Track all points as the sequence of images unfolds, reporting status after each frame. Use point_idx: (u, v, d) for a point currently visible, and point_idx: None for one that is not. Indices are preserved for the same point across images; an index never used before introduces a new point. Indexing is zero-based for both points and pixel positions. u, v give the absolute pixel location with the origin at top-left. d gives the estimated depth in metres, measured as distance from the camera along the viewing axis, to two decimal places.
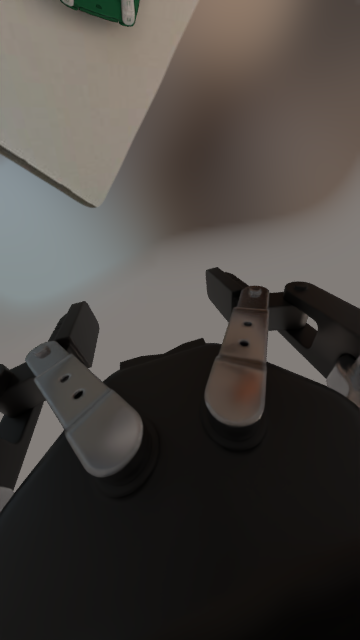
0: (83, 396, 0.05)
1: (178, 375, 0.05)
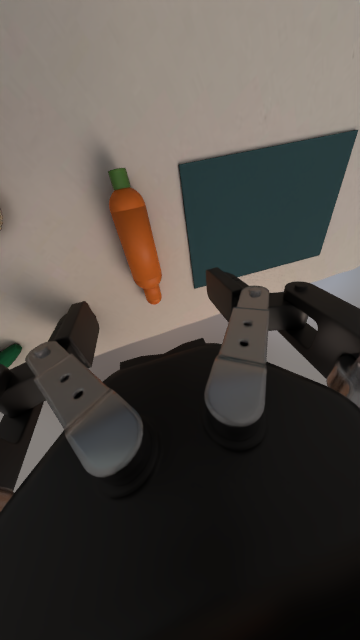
0: (83, 396, 0.05)
1: (178, 375, 0.05)
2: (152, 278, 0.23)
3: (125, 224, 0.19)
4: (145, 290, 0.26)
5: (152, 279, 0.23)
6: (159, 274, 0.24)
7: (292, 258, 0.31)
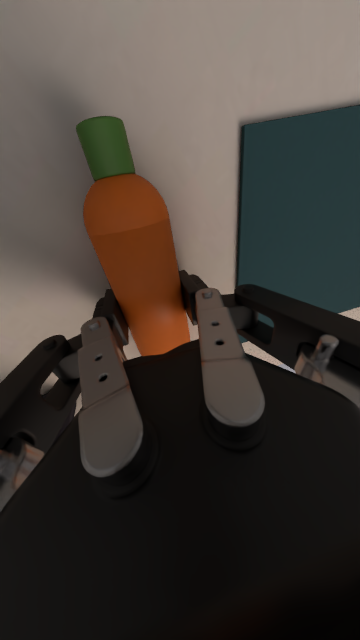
0: (106, 381, 0.05)
1: (178, 375, 0.05)
2: None
3: (122, 263, 0.08)
4: None
5: None
6: None
7: None
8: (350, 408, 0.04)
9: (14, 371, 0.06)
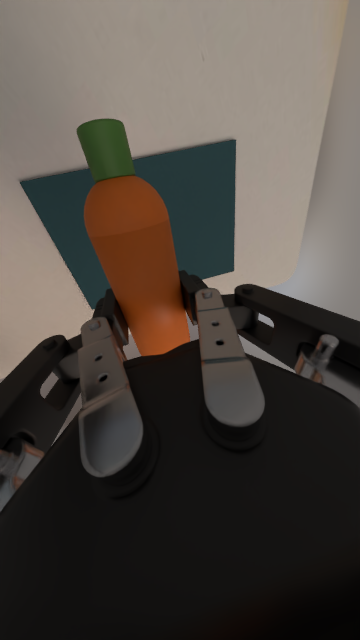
0: (106, 381, 0.05)
1: (178, 375, 0.05)
2: None
3: (122, 264, 0.08)
4: None
5: None
6: None
7: (202, 275, 0.29)
8: (350, 408, 0.04)
9: (14, 371, 0.06)
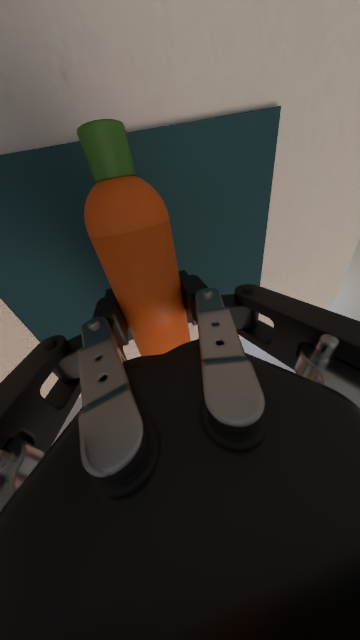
0: (106, 381, 0.05)
1: (178, 375, 0.05)
2: None
3: (122, 265, 0.08)
4: None
5: None
6: None
7: None
8: (350, 408, 0.04)
9: (14, 371, 0.06)
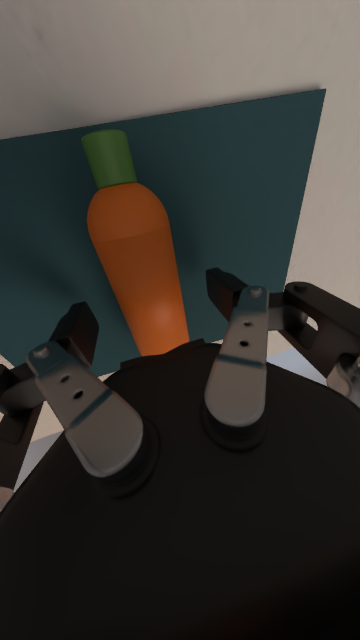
0: (83, 396, 0.05)
1: (178, 375, 0.05)
2: None
3: (125, 267, 0.08)
4: None
5: None
6: None
7: None
8: None
9: None
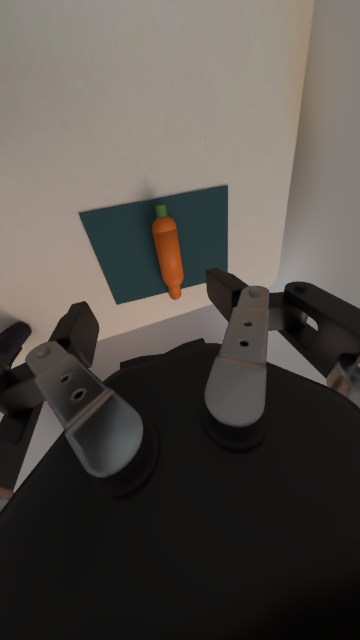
0: (83, 396, 0.05)
1: (178, 375, 0.05)
2: (178, 279, 0.32)
3: (163, 240, 0.28)
4: (170, 288, 0.34)
5: (178, 279, 0.32)
6: (182, 276, 0.32)
7: (202, 280, 0.37)
8: None
9: None
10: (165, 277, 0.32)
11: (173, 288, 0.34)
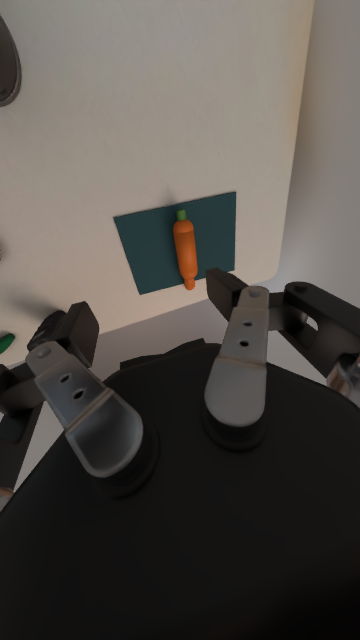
0: (83, 396, 0.05)
1: (178, 375, 0.05)
2: (193, 272, 0.37)
3: (183, 239, 0.33)
4: (186, 280, 0.40)
5: (193, 272, 0.37)
6: (197, 269, 0.38)
7: None
8: (359, 420, 0.04)
9: None
10: (182, 270, 0.37)
11: (188, 280, 0.40)
